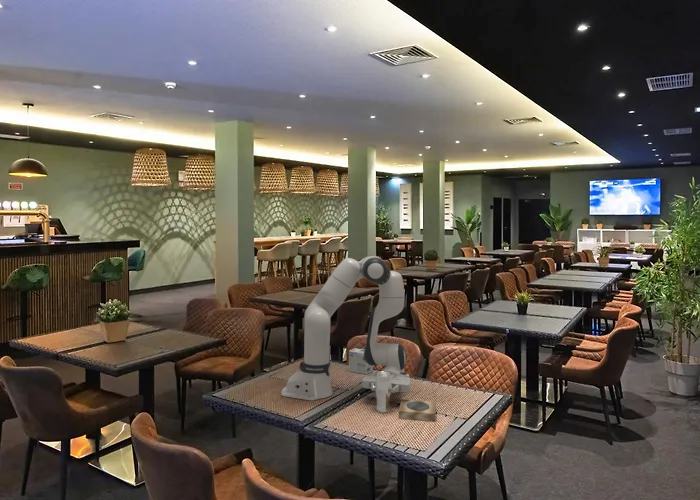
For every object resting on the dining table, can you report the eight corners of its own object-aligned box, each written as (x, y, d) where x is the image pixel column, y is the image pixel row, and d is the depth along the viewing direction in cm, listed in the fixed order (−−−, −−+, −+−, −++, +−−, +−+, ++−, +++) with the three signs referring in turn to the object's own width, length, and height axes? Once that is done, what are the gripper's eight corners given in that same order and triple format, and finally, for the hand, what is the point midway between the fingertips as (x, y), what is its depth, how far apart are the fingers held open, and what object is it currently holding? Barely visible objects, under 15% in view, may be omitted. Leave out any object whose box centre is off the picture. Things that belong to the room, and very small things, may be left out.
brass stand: (398, 418, 199) (398, 410, 199) (401, 406, 212) (401, 398, 212) (435, 421, 197) (435, 413, 196) (435, 409, 209) (435, 401, 209)
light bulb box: (373, 371, 259) (373, 350, 258) (366, 375, 253) (366, 353, 252) (355, 368, 264) (355, 347, 264) (348, 371, 259) (348, 350, 258)
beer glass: (390, 413, 204) (391, 376, 203) (373, 412, 205) (373, 375, 204) (392, 407, 210) (393, 371, 209) (375, 406, 212) (376, 370, 211)
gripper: (365, 370, 222) (358, 379, 209) (412, 374, 217) (407, 384, 203) (365, 384, 223) (357, 395, 209) (412, 389, 217) (407, 400, 204)
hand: (382, 390), depth 206 cm, fingers closed on beer glass, 7 cm apart
